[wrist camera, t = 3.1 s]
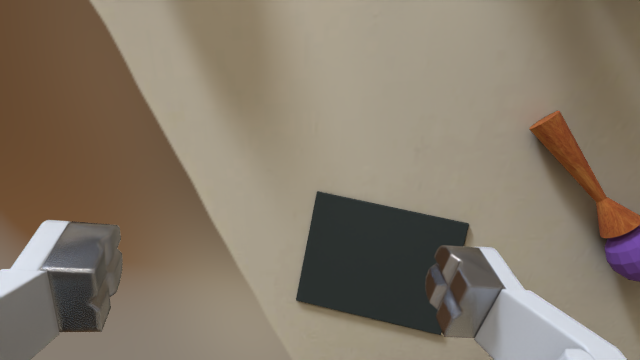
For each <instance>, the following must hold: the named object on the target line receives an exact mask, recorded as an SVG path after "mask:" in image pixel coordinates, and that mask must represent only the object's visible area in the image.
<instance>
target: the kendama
mask: <svg viewBox="0 0 640 360" xmlns="http://www.w3.org/2000/svg"><path fill="white" fill-rule="evenodd" d="M530 130H531V131H532V132H533V134H534V135H535V136H536V137H537V138H538V139H539V140H540V141H541V142H542V143H543V145H544V146H545V147H546V148H547V149H548V150H549V151H550V152H551V153H552V154H553V156H554V157H555V158H556V159H557V160H558V161H559V162H560V163H561V164H562V165H563V166H564V168H565V169H566V170H567V171H568V172H569V173H570V174H571V175H572V176H573V177H574V179H575V180H576V181H577V182H578V183H579V184H580V185H581V186H582V187H583V188H584V190H585V191H586V192H587V193H588V194H589V195H590V196H591V197H592V198H593V199H594V201H595V202H596V207H597V215H598V223H599V231H600V237H603V238H608V239H607V242H606V244H605V253H606V258H607V262H608V263H609V264H610V266H611V267H612V269H613V270H614V271H616V272H617V273H619V274H620V275H622V276H624V277H625V278H627V279H629V280H634V281H639V282H640V215H638V214H636V213H634V212H632V211H631V210H629V209H627V208H625V207H624V206H622V205H620V204H618V203H616V202H615V201H613V200H611V199H609V198H608V197H606V195H605V193H604V192H603V190H602V188H601V186H600V184H599V182H598V181H597V179H596V177H595V175H594V173H593V171H592V170H591V168H590V166H589V164H588V162H587V160H586V159H585V157H584V155H583V153H582V151H581V149H580V148H579V146H578V144H577V142H576V140H575V138H574V137H573V135H572V133H571V131H570V129H569V127H568V126H567V124H566V122H565V120H564V118H563V116H562V115H561V113H560V111H556V112H554V113H552V114H550V115H548V116H546V117H545V118H543V119H541V120H540V121H538V122H537V123H535V124H534V125H533V126H531V127H530Z"/></svg>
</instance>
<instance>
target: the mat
mask: <svg viewBox="0 0 640 360" xmlns="http://www.w3.org/2000/svg"><path fill="white" fill-rule="evenodd" d="M468 226H469V224H468V223H463V222H459V221H454V220H449V219H445V218H440V217H435V216H431V215H426V214H421V213H417V212H412V211H407V210H402V209H398V208H393V207H388V206H384V205H379V204H374V203H370V202H365V201H360V200H356V199H351V198H346V197H342V196H337V195H332V194H327V193H323V192H317V195H316V200H315V205H314V210H313V216H312V221H311V226H310V231H309V236H308V241H307V246H306V252H305V257H304V262H303V267H302V272H301V277H300V282H299V287H298V293H297V298H296V300H297V301H301V302H305V303H309V304H314V305H318V306H322V307H326V308H330V309H334V310H339V311H343V312H347V313H351V314H355V315H360V316H364V317H368V318H372V319H376V320H380V321H385V322H389V323H393V324H397V325H401V326H405V327H410V328H414V329H418V330H422V331H426V332H430V333H435V334H439V335H441V332H442V330H441V328H440V325H439V323H438V321H437V319H436V313H437V311H438V309H437V308H435V307H434V306H433V305H432V304H430V303H429V300H428V298H427V295H426V290H425V278H426V275H427V272H428V270H429V268H430V267H432V266H433V265H434V264H436V263H437V262H436V260H435V257H434V255H435V253H436V251H437V249H438V248H439V247H440V246H441V245H445V246H464V242H465V238H466V234H467V230H468Z"/></svg>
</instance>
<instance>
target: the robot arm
mask: <svg viewBox="0 0 640 360" xmlns="http://www.w3.org/2000/svg"><path fill="white" fill-rule="evenodd" d="M120 240H121V236H120V228H119V227H118V226H117V225H109V224H97V223H85V222H73V221H72V222H69V221H56V220H47V221H45V222H43V223H42V224H41V225H40V227H39V228H38V230H37V231H36V233H35V234H34V235H33V237H32V238H31V240H30V241H29V243H28V244H27V245H26V247H25V248H24V250H23V252H22V253H21V254H20V256H19V257H18V258H17V260H16V261H15V263H14V264H13V266H12V267H11V268H10V269H2V270H0V360H30V359H32V358H33V357H34V356H35V355H36V354H37V353H38V352H40V351H41V350H42V349H43V348H44V347H45V346H46V345H48V344H49V343H50V342H51V341H52V340H53V339H55V338H56V337H57V336H58V335H59V332H102V329H103V327H104V324H105V322H106V319H107V316H108V314H109V311H110V308H111V306H110V297H111V296H112V295H114V294H115V293H116V292H117V289H118V286H119V283H120V278H121V273H122V253H121V252H120V251H119V250H118V249H117V247H118V245H119V242H120ZM434 257H435V260H436V262H437V263H436V264H434V265H433V266H432V267H430V268H429V270H428V272H427V275H426V278H425V290H426V295H427V298H428V300H429V303H430V304H432V305H433V306H434V307H435V308H437V309H438V311H437V313H436V319H437V321H438V323H439V325H440V328H441V330H442V332H443V334H444V337H462V338H474V340H475V341H476V342H477V343H478V344H479V345H480V346H481V347H482V348H483V349H484V350H485V351H486V352H487V353H488V354H489V355H490V356H491V357H492V358H493V359H494V360H627V359H626V357H625V356H624V355H623V354H622V352H621V351H620V350H619V349H618V348H617V347H615V346H614V345H612V344H611V343H609V342H608V341H606V340H605V339H603V338H602V337H600V336H599V335H597V334H596V333H594V332H593V331H591V330H590V329H588V328H587V327H585V326H584V325H582V324H581V323H579V322H577V321H576V320H574V319H573V318H571V317H570V316H568V315H567V314H565V313H564V312H562V311H561V310H559V309H558V308H556V307H555V306H553V305H552V304H550V303H549V302H547V301H546V300H544V299H543V298H541V297H539V296H538V295H536V294H535V293H533V292H532V291H530V290H525V289H524V288H523V286H522V285H521V284H520V282H519V281H518V279H517V278H516V277H515V275H514V274H513V272H512V271H511V270H510V268H509V267H508V265H507V264H506V262H505V261H504V260H503V258H502V257H501V255H500V254H499V253H498V251H497V250H496V249H494V248H492V247H463V246H445V245H441V246H440V247H439V248H438V249H437V251H436V253H435V255H434Z"/></svg>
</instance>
